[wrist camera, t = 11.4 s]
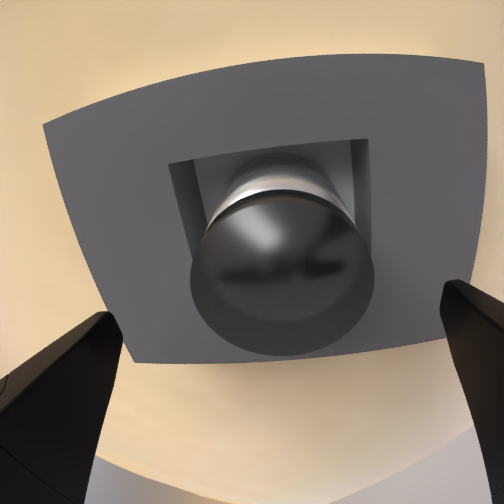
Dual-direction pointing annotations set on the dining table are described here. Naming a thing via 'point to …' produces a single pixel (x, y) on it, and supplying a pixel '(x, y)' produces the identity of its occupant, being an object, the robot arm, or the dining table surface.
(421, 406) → the dining table surface
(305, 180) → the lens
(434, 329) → the grey plate with pocket
